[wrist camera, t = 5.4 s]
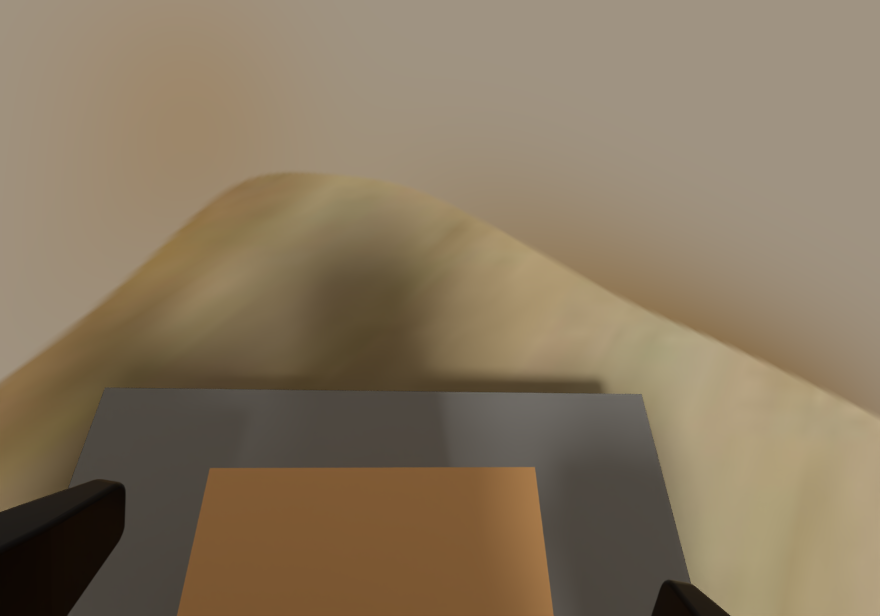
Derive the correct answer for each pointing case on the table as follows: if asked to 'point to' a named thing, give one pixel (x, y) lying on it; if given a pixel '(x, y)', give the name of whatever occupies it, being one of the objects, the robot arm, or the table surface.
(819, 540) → the table surface
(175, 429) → the jig plate
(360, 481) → the orange bar
